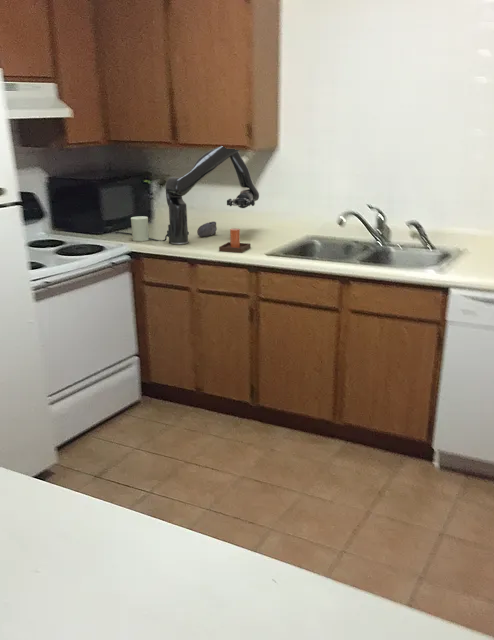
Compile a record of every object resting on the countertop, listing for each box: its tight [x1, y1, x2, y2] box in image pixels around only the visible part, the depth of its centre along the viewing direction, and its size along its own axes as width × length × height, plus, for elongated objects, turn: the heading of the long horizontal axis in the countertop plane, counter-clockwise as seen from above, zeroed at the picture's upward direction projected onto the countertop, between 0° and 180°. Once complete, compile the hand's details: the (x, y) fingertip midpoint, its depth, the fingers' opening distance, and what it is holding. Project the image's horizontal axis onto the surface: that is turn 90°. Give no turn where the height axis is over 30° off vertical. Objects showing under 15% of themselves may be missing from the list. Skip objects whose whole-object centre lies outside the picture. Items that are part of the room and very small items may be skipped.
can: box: [130, 215, 150, 242], centre depth 357 cm, size 9×9×12 cm
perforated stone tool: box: [196, 221, 218, 238], centre depth 364 cm, size 15×5×7 cm, turn 139°
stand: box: [218, 241, 252, 254], centre depth 333 cm, size 12×12×2 cm
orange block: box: [229, 228, 241, 248], centre depth 331 cm, size 5×5×9 cm
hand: (238, 204), depth 340 cm, fingers open, 8 cm apart
